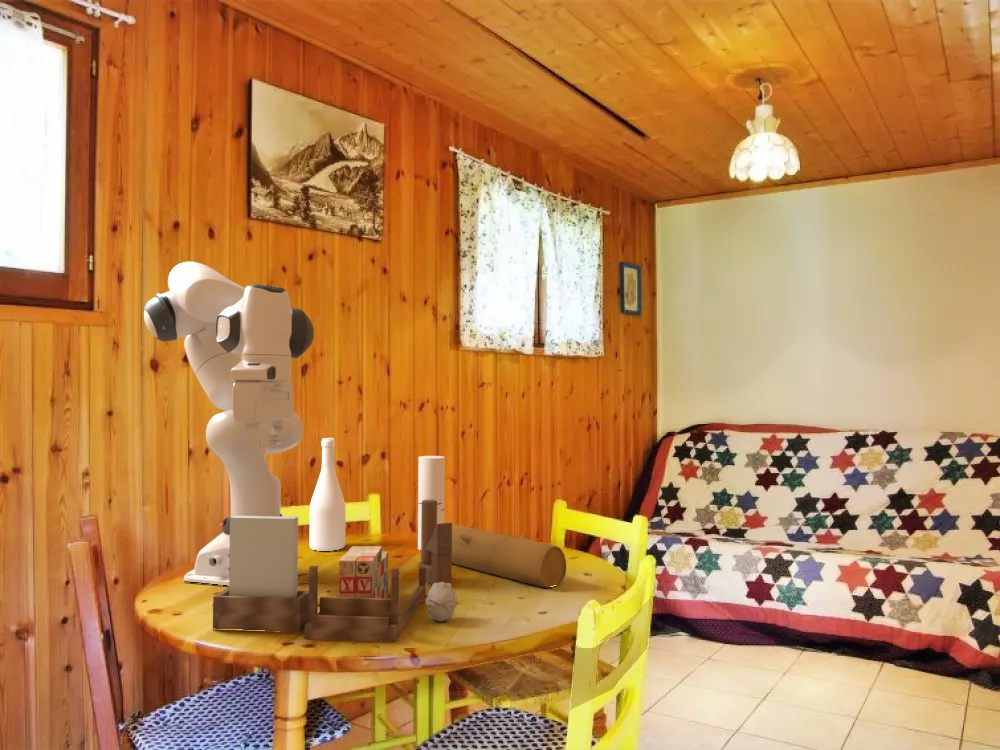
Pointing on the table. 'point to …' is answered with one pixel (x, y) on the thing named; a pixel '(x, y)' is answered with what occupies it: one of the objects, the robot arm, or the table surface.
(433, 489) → the cylindrical container
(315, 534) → the wine bottle
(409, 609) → the rack
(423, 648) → the table surface
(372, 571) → the stack of blocks
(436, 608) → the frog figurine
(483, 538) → the log
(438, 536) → the brown wedge with rod
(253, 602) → the holder
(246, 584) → the sheet
